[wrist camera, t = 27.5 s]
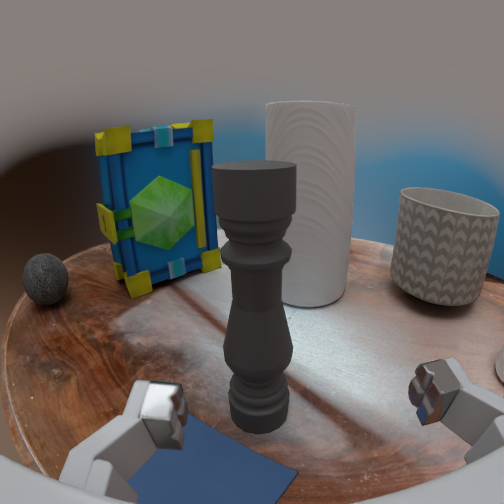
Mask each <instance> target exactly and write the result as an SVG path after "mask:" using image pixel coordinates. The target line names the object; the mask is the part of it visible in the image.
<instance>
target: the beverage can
mask: <svg viewBox="0 0 504 504" xmlns="http://www.w3.org/2000/svg"><path fill="white" fill-rule="evenodd" d="M495 367H496V372H497V375H498V376H499V378H500V379H501V381H502V382H503V383H504V347H503V349H502V351H501V353H500V355H499V357H498V359H497V361H496V365H495Z"/></svg>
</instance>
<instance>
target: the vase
mask: <svg viewBox="0 0 504 504" xmlns="http://www.w3.org/2000/svg"><path fill="white" fill-rule="evenodd" d="M266 160H268V161H284V162H291V163H294V164H297V181H296V211H295V213H294V214H292V221H291V224H290V226H289V227H288V228H287V230H286V233H285V236H284V237H283V240H284V241H286V242H287V243H288V244H289V246H290V247H291V248H292V254H291V257H290V261H289V262H288V263H286V264H285V265H284V267H283V269H282V302H284V303H287V304H290V305H294V306H300V307H317V306H323V305H327V304H330V303H332V302H334V301H336V300H337V299H338V298H340V297H341V296H342V294H343V292H344V289H345V284H346V279H347V272H348V264H349V255H350V244H351V232H352V231H351V230H352V218H353V202H354V178H355V107H354V106H351V105H347V104H342V103H333V102H323V101H283V102H273V103H268V104H266Z"/></svg>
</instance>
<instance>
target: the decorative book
mask: <svg viewBox="0 0 504 504" xmlns="http://www.w3.org/2000/svg"><path fill="white" fill-rule="evenodd" d="M212 142H214V135H213V119H208V120H192V121H191V123H178V124H171V126H170V125H169V126H158V127H151V128H150V129H145V130H138V132H137V133H131V134H130V126H122V127H115V128H109V129H105V130H104V132H100V133H95V145H96V156H98V162H99V172H100V179H101V188H102V196H103V203H104V204H97V210H98V215H99V222H100V227H101V231H102V233H103V234H104V235H105V236H106V237H107V238H108V239H109V240H110V244H111V249H112V254H113V259H114V261H113V266H114V271H115V275H116V279H117V280H120V279H123V278H124V279H125V283H126V287H127V289H128V291H129V293H130V295H131V297H132V299H133V298H136V297H139V296H141V295H144V294H147V293H150V292H153V289H152V284H155V283H158V282H161V281H164V280H167V279H169V280H170V279H173V278H176V277H179V276H182V275H185V274H186V273H187V272H190V271H193V270H196V269H198V268H200V269H201V270H202V272H203V273H206V272H209V271H212V270H215V269H217V268H220V267H221V258H220V248H219V247H218V240H217V225H216V215H215V211H214V196H213V178H212V166H213V155H212Z"/></svg>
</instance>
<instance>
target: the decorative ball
mask: <svg viewBox="0 0 504 504" xmlns="http://www.w3.org/2000/svg"><path fill="white" fill-rule="evenodd" d="M23 286H24V289H25V291H26V293H27V295H28V296H29V297H30V298H31V299H32V300H33V301H34V302H36V303H38V304H41V305H51V304H54V303H56V302H58V301H59V300H60V299H61V298H62V297H63V296H64V295H65V293H66V291H67V287H68V273H67V270H66V267H65V265H64V264H63V263H62V261H61V260H60V259H59V258H57V257H56V256H54V255H51V254H46V253H45V254H38V255H36V256H34V257H33V258H31V259H30V260H29V261H28V263H27V264H26V266H25V268H24V271H23Z"/></svg>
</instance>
